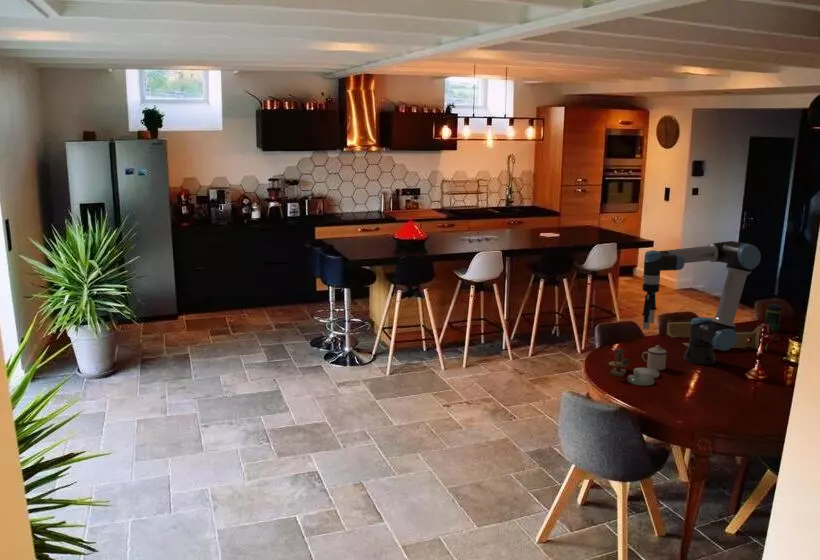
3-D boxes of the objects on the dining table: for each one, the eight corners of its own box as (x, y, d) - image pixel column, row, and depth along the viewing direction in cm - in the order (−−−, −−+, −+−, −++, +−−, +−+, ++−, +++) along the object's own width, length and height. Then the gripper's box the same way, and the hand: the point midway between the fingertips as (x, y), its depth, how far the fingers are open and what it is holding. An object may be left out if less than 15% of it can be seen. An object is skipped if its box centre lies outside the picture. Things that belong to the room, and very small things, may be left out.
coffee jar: (777, 336, 413) (781, 306, 410) (763, 334, 418) (766, 304, 414) (779, 333, 421) (783, 303, 418) (765, 331, 426) (768, 301, 422)
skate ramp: (727, 336, 413) (730, 310, 410) (766, 352, 379) (769, 324, 376) (666, 338, 407) (668, 311, 404) (700, 355, 372) (702, 326, 370)
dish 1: (661, 373, 338) (661, 370, 338) (656, 379, 328) (657, 376, 327) (636, 369, 344) (636, 366, 344) (631, 375, 334) (631, 372, 333)
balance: (617, 367, 347) (619, 340, 344) (629, 369, 344) (631, 342, 341) (606, 378, 328) (608, 350, 326) (619, 380, 325) (621, 352, 323)
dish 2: (656, 380, 327) (656, 377, 327) (651, 387, 317) (651, 384, 316) (630, 376, 333) (630, 373, 332) (624, 382, 322) (625, 379, 322)
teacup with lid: (668, 367, 348) (669, 345, 345) (662, 371, 340) (664, 349, 338) (644, 363, 355) (646, 341, 353) (638, 367, 348) (640, 344, 346)
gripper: (647, 278, 345) (645, 319, 349) (638, 286, 323) (635, 330, 327) (663, 279, 341) (660, 321, 345) (654, 288, 320) (651, 332, 324)
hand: (648, 325), depth 336 cm, fingers open, 13 cm apart
